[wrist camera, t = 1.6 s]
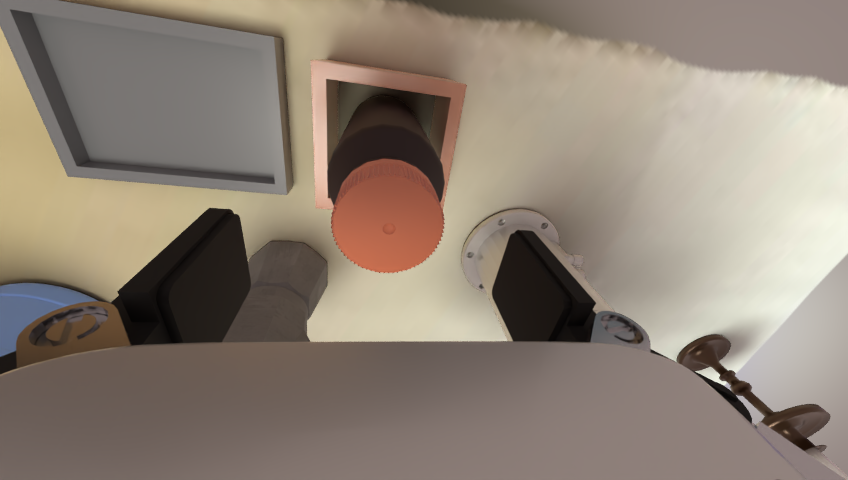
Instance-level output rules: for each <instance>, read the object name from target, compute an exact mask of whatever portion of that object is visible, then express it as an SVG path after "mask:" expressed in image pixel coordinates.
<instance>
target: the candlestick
mask: <svg viewBox="0 0 848 480" xmlns="http://www.w3.org/2000/svg"><path fill="white" fill-rule="evenodd" d="M730 347H731V343H730V342H729V341H728V340H727V339H726V338H725V337H723V336H722V335H716V334H715V335H708V336H704V337H701V338H699V339H697V340H695V341H693V342H691V343H690V344H689V345H687V346H686V347H685V348H684V349H683V350H682V351H681V352H680V353H679V355H678V357H677V363H679V364H681V365H683V366H685V367H687V368H689V369H691V370H693V371H699V370H702V369H705V368H708V367H712V368H713V369H715V370H716V371H717V372H718V373H719V374H720V377H719V379H720V380H722V381H727V382H728V383H729V384H730V385H731V387H730V388H731V391H732V392H733V393H734V394H735V395H738V396H744V397H745V398H746V399H747V400H748V401H749V402H750V403H751V404H752V405H753V406H754V407H755V408H756V409H757V410H758V411H760V412H761V413H762V414H763V415H764V416H765V417H764V419H763V420H762V421H761V422H762V423H763V424H765V425H766V426H768V427H769V428H771V429H772V430H774V431H775V432H777V433H778V434H780V435H781V436H783V437H784V438H785V439H787V440H788V441H790V442H791V443H793V444H794V445H796V446H797V447H799V448H800V449H802V450H803V451H805V452H806V453H808V454H809V455H811V456H812V457H813V458H815V459H816V460H818V461H819V462H821V463H822V464H824V465H825V466H827V467H828V468H830V469H831V470H833V471H834V472H836V473H837V474H839V475H840V476H841V477H843V478H844V479H846V480H848V476H847V475H846V474H845V473H843V471H841V470H840V469H839V468H838V467H837V466H836V465H835V464H834V463H833V462H831V461H830V460H829V459H828V458H827V457H826V456H825V455H824V454H822V453H821V452H822V451H824V450H825V449H826V445H819V446H815V445H814V444H813V443H811V442H810V441H809V440H808V439H807V438H808V437H809V436H811V435H813V434H814V433H816V432H817V431H819V430H820V429H821V428H822V427H824V426H825V425H826V424H827V423H828V421H829V419H830V414H829V413H828V412H826V411H825V410H824V409H823V408H821V407H820V406H819V405H816V404H805V405H799V406H795V407H792V408H788V409H785V410H783V411H780V412H773V411H772V410H771V409H770V408H768V407H767V406H766V405H765V404H764V403H763V402H762V401H761V400H760V399H759V398H757V397H756V396H755V395H754V394H753V393H752V392H751V389H752V387H751V385H750V384H749V383H747V382H745V381H740V380H738V379H737V378H736V377H735V372H734V371H732V370H729V371H728V370H727V369H725V368H724V367H723V366H722V365H721V364H720V363H719V361H720V360H721V359H722V358H723V357H724V356H725V355H726V354H727V353H728V352H729V350H730Z"/></svg>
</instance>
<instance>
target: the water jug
mask: <svg viewBox="0 0 848 480" xmlns="http://www.w3.org/2000/svg"><path fill="white" fill-rule="evenodd" d="M92 301H98V300H96V299H94V298H92V297H90V296H88V295H85V294H83V293H80V292H77V291H74V290H71V289H67V288H64V287H59V286H54V285H48V284H40V283H15V284H8V285H2V286H0V357H1V356H3V355H6V354H9V353H11V352H14V351H16V341H17V338H18V335H19V334H20V333H21V332H22V331H23V330H24V328H25V327H26V326H28V325H29V324H31V323H32V322H33V321H35V320H36V319H38V318H40V317H42V316H44V315H46V314H48V313H50V312H52V311H54V310H57V309H60V308H63V307H65V306H69V305H73V304H77V303H82V302H92Z"/></svg>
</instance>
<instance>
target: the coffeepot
mask: <svg viewBox="0 0 848 480" xmlns="http://www.w3.org/2000/svg"><path fill="white" fill-rule="evenodd" d="M248 267H249V273H250V278H251V288H250V291H249V293H248V295H247V297H246V299H245V301H244V302H243V304H242V306H241V308H240V310H239V312H238V314H237V315H236V317H235V319H234V321H233V323H232V325H231V326H230V328H229V330H228V332H227V334H226V336H225V338H224V339H223V341H222V342H310V340H309V338H308V336H307V320H308V319H309V318H310V317H311V315H312V313H313V311H314V309H315V307H316V306H317V304H318V302H319V300H320V298H321V296H322V294H323V293H324V291H325V289H326V287H327V262H326V261H325V260H324V259H323V258H322V257H321V256H320V255H319V254H318V253H317V252H316V251H314V250H313V249H312V248H310V247H308V246H307V245H305V244H304V243H299V242H292V241H278V242H274V241H271V242H269V243H268V244H267V245H266V246H264V247H263V248H261V249H260V250H259V251H258V252H257V253H256V254H255V255H253V256H252V257H251V258H250V259H249V263H248Z"/></svg>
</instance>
